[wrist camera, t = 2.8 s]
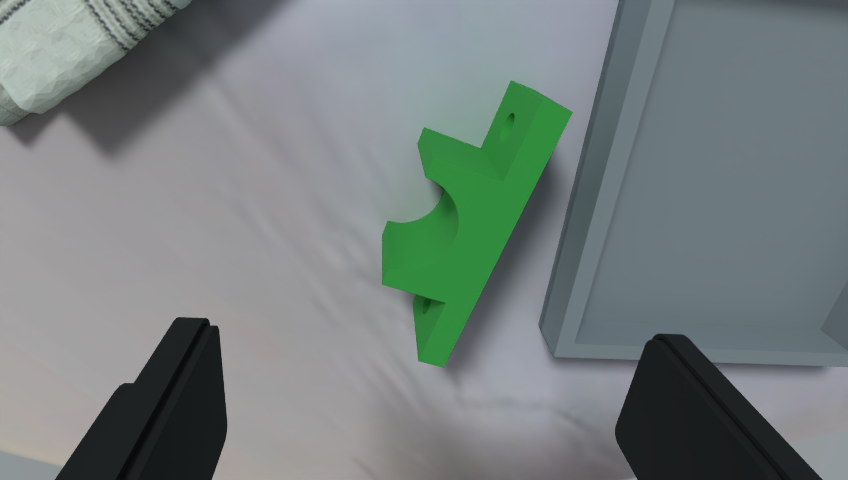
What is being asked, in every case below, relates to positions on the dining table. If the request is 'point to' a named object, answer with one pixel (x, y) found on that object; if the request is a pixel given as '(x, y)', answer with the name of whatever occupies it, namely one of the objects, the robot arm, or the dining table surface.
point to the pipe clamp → (469, 215)
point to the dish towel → (66, 46)
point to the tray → (712, 187)
